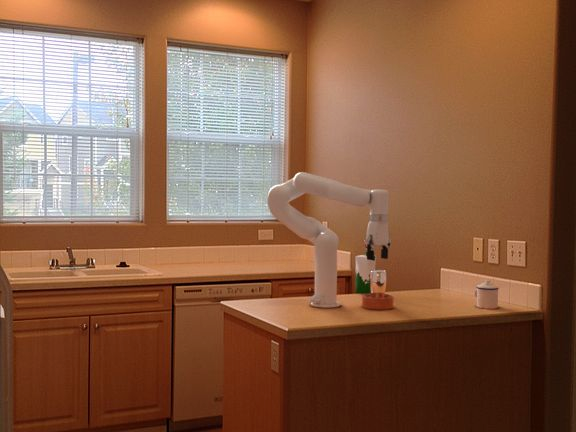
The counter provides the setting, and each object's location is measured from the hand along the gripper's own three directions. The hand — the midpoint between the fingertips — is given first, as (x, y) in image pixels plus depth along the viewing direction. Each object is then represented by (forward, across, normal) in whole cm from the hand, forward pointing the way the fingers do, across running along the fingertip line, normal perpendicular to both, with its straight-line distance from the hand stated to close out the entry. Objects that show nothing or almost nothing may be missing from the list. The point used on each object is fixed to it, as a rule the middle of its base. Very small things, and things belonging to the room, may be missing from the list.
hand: (377, 259), depth 278 cm
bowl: (+20, 0, +1) cm, 21 cm away
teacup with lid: (+20, -36, +31) cm, 52 cm away
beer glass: (+20, 0, +1) cm, 20 cm away
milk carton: (+21, -28, -27) cm, 44 cm away
